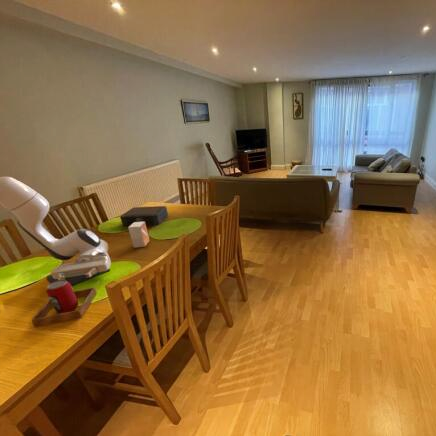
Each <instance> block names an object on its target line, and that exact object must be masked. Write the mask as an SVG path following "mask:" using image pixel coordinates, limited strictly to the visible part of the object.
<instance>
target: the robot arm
mask: <svg viewBox="0 0 436 436" xmlns="http://www.w3.org/2000/svg"><path fill="white" fill-rule="evenodd" d="M0 206H2V207H3V208H5V209H6V210H8V211H9V212H11V213H12V214H13V215H14V216H15V217H16V218H17V225H18V226H19V227H20V229H21V230H23V232H25V233H26V234H27V235H28V236H29V237H30V238H32V239H33V241H35V242H37V243H38V244H39V245H40V246H42V248H43V249H45V250H46V251H47V252H48V253H49V255H50V256H51V257H52V258H54V259H55V260H58V261H69V260H70V259H72V258H74V257H75V256H76V255H78V254H79V255H78V256H77V257H76V258H75V260H74V261H72V262H65V263H61V264H59V265H58V266H56V267H55V268H53V270H51V271H50V275H52V277H53V278H54V279H58V280H65V278H66V277H72V276H78V275H84V274H85V276H86V278H87V277H91V276H92V275H93V274H95V273H97V272H103V271H106V270H108V269H110V267H111V265H112V260H111V258H110V255H109V253H108V252H109V244H108V243H107V241H105V240H104V239H101V238H100V237H99V236H98V234H97V233H96V232H94V231H93V230H91V229H88V228H78V229H76V230H73V231H72V232H70V233H69V234H67V235H66V236H63V237H61V238H56V237H54V236H53V235H52V234H51V233H50V232H48V230H46V229H45V228H44V227H43V225H42V223H43V221H44V219H45V218H46V216H47V215H48V213H49V212H50V208H51V207H50V203H49V201H48V200H47V199H46V197H44V196H43V195H42V194H40V193H39V192H38V191H36V190H35V189H33V188H32V187H30V186H28V185H27V184H25V183H23V182H22V181H19V180H18V179H16V178H14V177H12V176H0Z"/></svg>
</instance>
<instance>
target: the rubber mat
mask: <svg viewBox="0 0 436 436" xmlns="http://www.w3.org/2000/svg"><path fill="white" fill-rule="evenodd" d="M108 270H109V271H108ZM108 270H106V271H107V272H110V271H111V269H110V268H109V269H108ZM106 271H103V272H97V273H95V274H93V275H92V276H91V277H87V278H86V276H85V274H84V275H78V276H72V277H66V278H65V280H66V281H67V282H69V283H70V284H71V286H72V287H73V286H75V285H78V284H80V283H84V282H86V281H88V280H90V279H93V278H95V277H97V276H99V275H102V274H105V273H107V272H106ZM46 278H47V280H48V282H50V283H49V284H51V283H53V282H55V281H58V279H54V278H53V277H52V275H51V274H50V275H47V276H46Z"/></svg>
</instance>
